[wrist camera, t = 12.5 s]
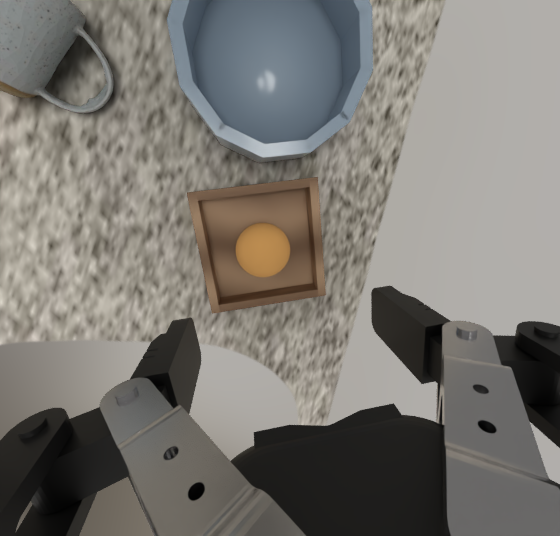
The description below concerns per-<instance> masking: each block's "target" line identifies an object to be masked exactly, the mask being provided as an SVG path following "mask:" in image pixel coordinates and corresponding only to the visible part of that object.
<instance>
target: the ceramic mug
mask: <svg viewBox="0 0 560 536" xmlns="http://www.w3.org/2000/svg"><path fill="white" fill-rule="evenodd" d="M85 21H86V18H85V16H84V15H83V14H82V12H81V11H80V10H79V9H78V8H77V7H76V6H75V5H74V4H73V3H72V2H71V1H70V0H0V90H2V91H4V92H6V93H9V94H11V95H14V96H17V97H22V98H30V97H34V96H36V95H41V96H42V97H43V98H45V99H46V100H48V101H49V102H51V103H52V104H55V105H57V106H59V107H61V108H63V109H66V110H69V111H72V112H77V113H89V112H93V111H96V110H98V109H100V108H101V107H103V106H104V105H105V104H106V103H107V101H108V100H109V99H110V97H111V95H112V92H113V85H114V79H113V74H112V71H111V68H110V65H109V63H108V61H107V59H106V58H105V56H104V54H103V53H102V51H101V50H100V49H99V47H98V46H97V45H96V44H95V42H94V41H93V40H92V39H91V37H90V36H89V35H88V34H87V33H86V32H85V31H84V29H83V26H84V24H85ZM78 35H80V36H82V37H84V39H85V40H86V41H87V42H88V43H89V45H90V46H91V47H92V49H93V50H94V52H95V53H96V54H97V56H98V57H99V59H100V61H101V63H102V66H103V69H104V72H105V77H106V80H107V83H106V85H105V87H104V88H103V90H102V91H101V92H100V93H99V94H98V95H97V96H96V97H95V98H94V99H89V100H88V103H87V104H84V105H82V106H75V105H71V104H69V103H67V102H64V101H62V100H60V99H58V98H56V97H54V96H53V95H52V94H50V93H49V92H47V91H46V90H45V87H46V85H47V84H48V82H49V81H50V79H51V78H52V75H53V73H54V72H55V70H56V67H57V66H58V64H59V63H60V61H61V60H62V58H63V57H64V55H65V54H66V53H67V51H68V50H69V48H70V47H71V45H72V44H73V43H74V41H75V39H76V37H78Z"/></svg>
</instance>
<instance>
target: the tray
mask: <svg viewBox="0 0 560 536" xmlns="http://www.w3.org/2000/svg"><path fill="white" fill-rule="evenodd" d="M187 196H188V201H189V206H190V211H191V215H192V220H193V225H194V230H195V234H196V239H197V244H198V249H199V253H200V258H201V263H202V268H203V272H204V277H205V282H206V286H207V291H208V296H209V301H210V305H211V310H212V313H218V312H224V311H231V310H237V309H243V308H249V307H255V306H262V305H268V304H274V303H280V302H286V301H293V300H299V299H305V298H311V297H317V296H324V295H326V292H325V277H324V263H323V248H322V233H321V219H320V204H319V189H318V177H314V178H305V179H297V180H289V181H280V182H272V183H264V184H255V185H247V186H238V187H230V188H222V189H213V190H205V191H197V192H188V193H187ZM256 223H269V224H272V225H275V226H277V227H278V228H280V229H281V230H282V231H283V232H284V233H285V235H286V236H287V239H288V241H289V244H290V256H289V260H288V262H287V264H286V265H285V267H284V268H283V269H282V270H281V271H280V272H278V273H277V274H275V275H273V276H270V277H256V276H253V275H251V274H249V273H247V272H246V271H245V270H244V269H243V268H242V267H241V266H240V264H239V262H238V260H237V257H236V243H237V240H238V238H239V236H240V234H241V233H242V232H243V231H244V230H245V229H246V228H247V227H249V226H251V225H253V224H256Z"/></svg>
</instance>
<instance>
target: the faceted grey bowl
mask: <svg viewBox="0 0 560 536" xmlns="http://www.w3.org/2000/svg"><path fill="white" fill-rule="evenodd" d="M167 23H168V28H169V34H170V39H171V44H172V49H173V54H174V59H175V64H176V69H177V74H178V79H179V85H180V87H181V89H182V91H183V92H184V94H185V95H186V97H187V99H188V100H189V102H190V103H191V105H192V107H193V108H194V109H195V111H196V112H197V113H198V115H199V116H200V117H201V119H202V120H203V121H204V123H205V124H206V125H207V127H208V128H209V130H210V131H211V132H212V134H213V135H214V136H215V138H216V139H217V140H218V142H219V143H220V144H221V145H222V146H224V147H227V148H229V149H231V150H233V151H235V152H237V153H239V154H241V155H244V156H246V157H248V158H250V159H252V160H254V161H256V162H258V163H264V162H273V161H282V160H291V159H299V158H301V157H303V156H305V155H307V154H309V153H310V152H312V151H313V150H314V149H316V148H317V147H318V146H320V145H321V144H322V143H323V142H325V141H326V140H327V139H328V138H330V137H331V136H332V135H334V134H335V133H336V132H337V131H339V130H340V129H341V128H342V127H344V126H345V125H346V124H348V123H349V122H350V120H351V118H352V116H353V114H354V111H355V109H356V107H357V105H358V102H359V100H360V98H361V96H362V93H363V91H364V89H365V87H366V84H367V82H368V80H369V78H370V75H371V73H372V71H373V43H372V6H371V4H370V2H369V0H172V3H171V7H170V11H169V14H168V18H167Z"/></svg>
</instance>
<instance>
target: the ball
mask: <svg viewBox="0 0 560 536" xmlns="http://www.w3.org/2000/svg"><path fill="white" fill-rule="evenodd" d="M289 256H290V244H289V241H288V239H287V236H286V235H285V233H284V232H283V231H282V230H281V229H280V228H278V227H277V226H275V225H272V224H269V223H256V224H253V225H251V226H249V227H247V228H246V229H245V230H244V231H243V232H242V233H241V234H240V236H239V238H238V240H237V243H236V257H237V260H238V262H239V264H240V266H241V267H242V268H243V269H244V270H245V271H246V272H247V273H249V274H251V275H253V276H256V277H270V276H273V275H275V274H277V273H278V272H280V271H281V270H282V269H283V268H284V267H285V265H286V264H287V262H288V260H289Z"/></svg>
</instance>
